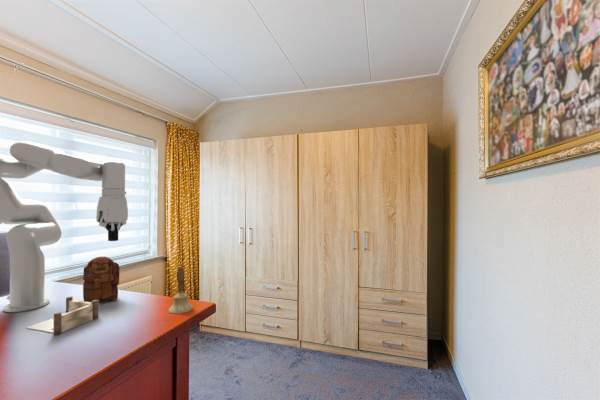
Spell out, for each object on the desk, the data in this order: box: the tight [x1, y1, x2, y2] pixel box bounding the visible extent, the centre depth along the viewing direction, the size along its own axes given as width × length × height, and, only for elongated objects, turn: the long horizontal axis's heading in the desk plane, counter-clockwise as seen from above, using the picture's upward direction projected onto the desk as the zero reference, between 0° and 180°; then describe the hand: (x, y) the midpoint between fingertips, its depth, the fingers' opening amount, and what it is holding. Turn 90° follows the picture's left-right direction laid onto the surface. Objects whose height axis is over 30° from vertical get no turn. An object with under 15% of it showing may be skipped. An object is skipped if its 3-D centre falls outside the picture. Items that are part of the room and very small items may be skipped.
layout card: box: [26, 317, 54, 334], centre depth 92 cm, size 12×10×1 cm
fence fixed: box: [65, 296, 100, 320], centre depth 99 cm, size 14×2×6 cm, turn 74°
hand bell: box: [168, 266, 193, 315], centre depth 105 cm, size 8×8×16 cm
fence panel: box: [53, 304, 94, 336], centre depth 90 cm, size 12×2×6 cm, turn 166°
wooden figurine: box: [82, 256, 120, 305], centre depth 113 cm, size 12×6×18 cm, turn 129°
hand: (113, 240), depth 109 cm, fingers closed
